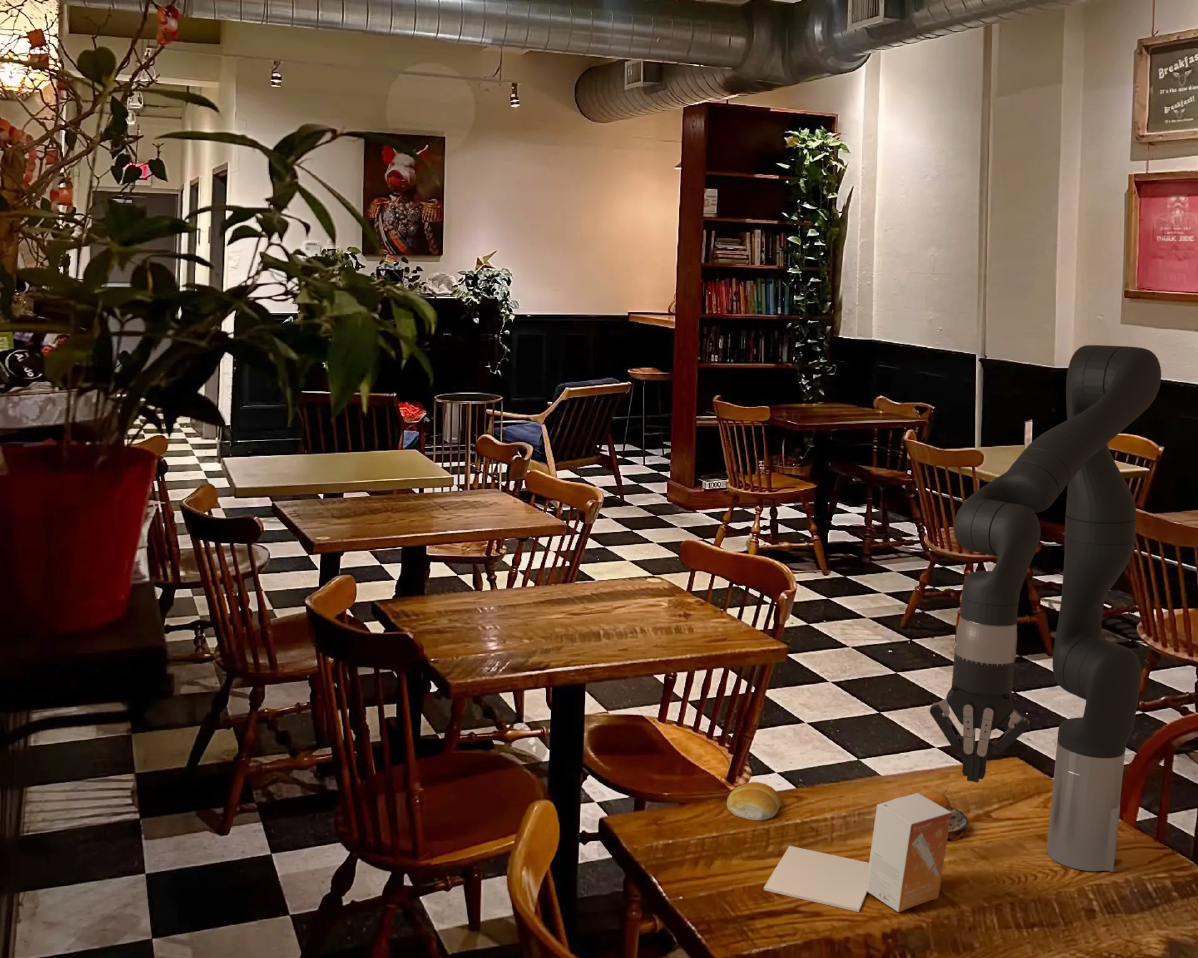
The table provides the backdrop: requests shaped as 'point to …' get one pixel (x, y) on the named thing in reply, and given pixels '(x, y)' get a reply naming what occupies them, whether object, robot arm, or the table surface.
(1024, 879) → the table surface
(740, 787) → the bread roll
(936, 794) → the burger
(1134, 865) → the table surface
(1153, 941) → the table surface
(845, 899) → the mat
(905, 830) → the small box
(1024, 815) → the table surface
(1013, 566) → the robot arm
